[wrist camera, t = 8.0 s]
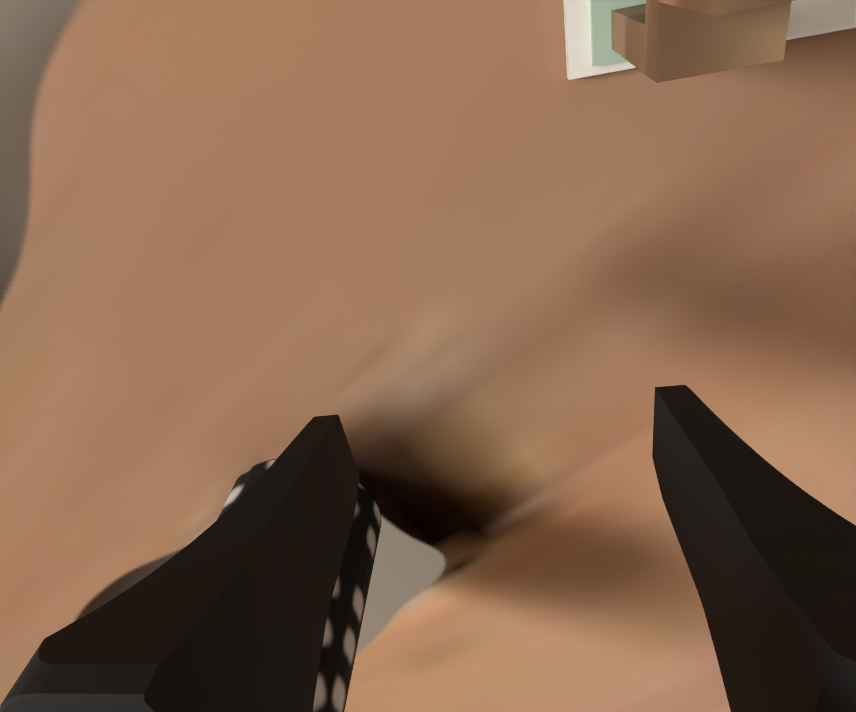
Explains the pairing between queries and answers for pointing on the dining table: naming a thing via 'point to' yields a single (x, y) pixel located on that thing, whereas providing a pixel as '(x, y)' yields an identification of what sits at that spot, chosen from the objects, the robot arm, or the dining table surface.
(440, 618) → the dining table surface
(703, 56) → the stepped wooden block
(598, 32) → the end pad
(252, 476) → the white-spotted black cylinder
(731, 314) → the dining table surface
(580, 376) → the dining table surface
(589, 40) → the buzz wire board
